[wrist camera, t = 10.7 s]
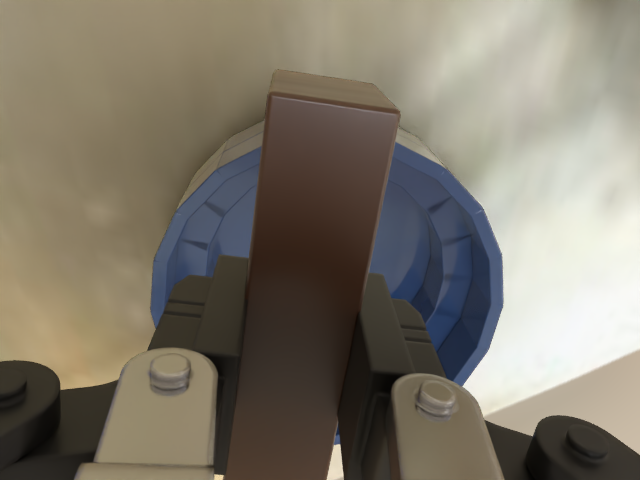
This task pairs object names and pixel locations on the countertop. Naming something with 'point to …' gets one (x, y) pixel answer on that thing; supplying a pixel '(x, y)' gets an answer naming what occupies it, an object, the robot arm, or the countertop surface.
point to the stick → (307, 269)
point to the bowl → (389, 249)
